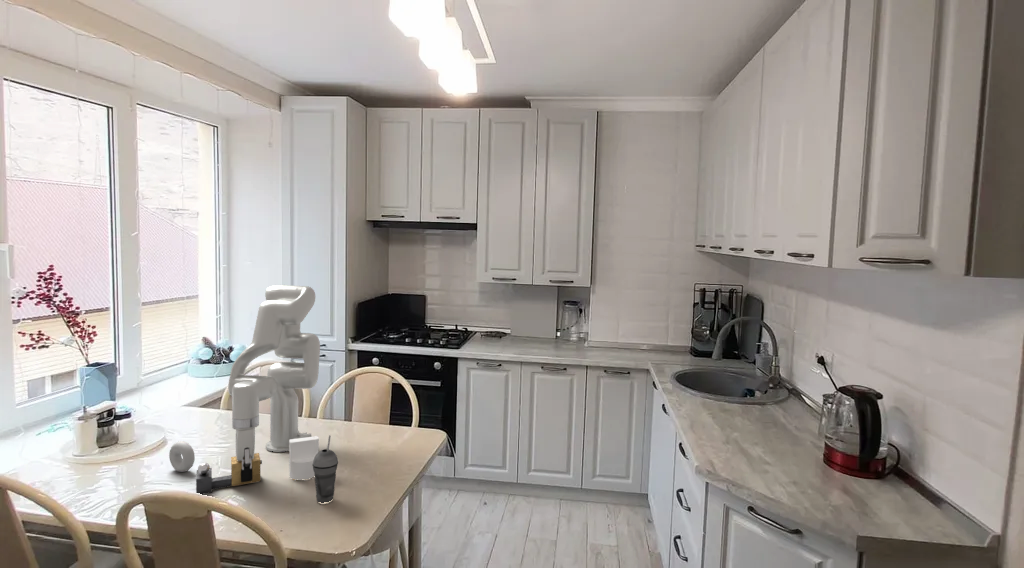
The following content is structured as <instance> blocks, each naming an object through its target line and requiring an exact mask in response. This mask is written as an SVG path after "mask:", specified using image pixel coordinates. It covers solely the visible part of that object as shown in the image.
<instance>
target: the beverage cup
mask: <svg viewBox="0 0 1024 568" xmlns="http://www.w3.org/2000/svg"><path fill="white" fill-rule="evenodd" d="M330 444H331V434H330V435H328V441H327V445H326V446H327V447H326V448H325V449H321V450H320V451H319V452H318V453H317V454H316V456H315V457H314V460H313V465H312V466H313V470H314V475H315V477H314V483H315V485H314V486H315V497H316V502H317V501H318V502H321V503H324V502H329V501H331V500H332V499H333V500H334V496H335V486H336V477H337V476H336V475H337V470H338V469H337V468H338V465H339V459H338V456H337V454H336V452H334V451H333V450H331V449H330Z"/></svg>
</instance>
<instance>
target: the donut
mask: <svg viewBox="0 0 1024 568" xmlns="http://www.w3.org/2000/svg"><path fill="white" fill-rule="evenodd" d="M168 454H169V455H168V456H169V457H168V458H169V461H170V464H171V466H172V468H173V469H174V470H176V471H177V472H181V473H183V472H187V471H189V470H190V469H192V467H193V466H194V463H195V460H196V458H195V451H194V449H193V447H192V445H191V444H189V442H187V441H184V440H183V441H182V440H180V441H179V440H178V441H177V442H175V443H173V445H172V446H171V447H170V449H169V453H168Z"/></svg>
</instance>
